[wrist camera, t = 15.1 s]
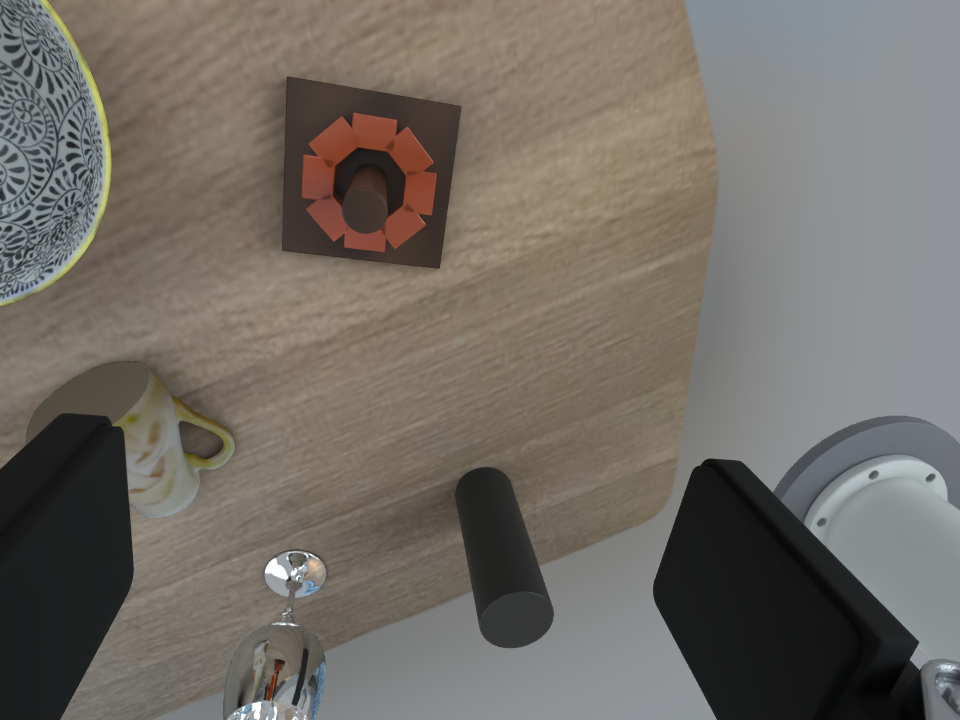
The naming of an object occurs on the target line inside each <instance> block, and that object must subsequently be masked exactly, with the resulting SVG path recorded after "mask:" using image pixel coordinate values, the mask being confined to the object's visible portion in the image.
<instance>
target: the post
mask: <svg viewBox="0 0 960 720" xmlns="http://www.w3.org/2000/svg"><path fill="white" fill-rule="evenodd" d="M354 112H359V113H365V114H371V115H377V116H383V117H389V118H395V119H397V130H396V132H398V131H399V130H400V129H401V128H403V127H404V126H405V125H407V126H408V128H409V129H410V130H411V132H412V133H413V134H414V136H415V137H416V139H417V140H418V141H419V143H420V144H421V145H422V147H423V148H424V149H425V151H426V152H427V154H428V155H429V156H430V158H431V159H432V160H433V162H434V163H433V164H432V165H430V166H429V167H428V168H427V169H432V170H434V171H435V173H436V174H437V177H436V185H435V193H434V202H433V210H432V215H423V214H421V215H422V216H423V218H424V220H425V223H426V226H424V227H423V228H422V229H421V230H419V231H418V232H417V233H415V234H414V235H413V236H412V237H410V238H409V239H408V240H406V241H405V242H404V243H403V244H401V245H400V246H399V247H398V248H396V249H394V248H393V247H392V245H391V244H390V243H389V242H388V241H387V239H386V245H385V252H377V251H369V250H360V249H352V248H345V247H344V235H345V234H344V235H342V236H341V237H340V238H339V239H337V240H336V241H335V242H334V241H332V240H331V238H330V237H329V236H328V235H327V234H326V233H325V231H324V230H323V229H322V228H321V227H320V226H319V225H318V223H317V222H316V221H315V220H314V219H313V218H312V216H311V215H310V214H309V213H308V212H307V211H306V208H307V206H308V205H309V204H310V202H312V201H313V200H311V199H303V198H302V197H301V194H302V169H303V155H304V154H305V153H307V152H308V151H310V152H314V150H313V149H312V148H311V147H310V145H309V142H311V141H312V140H313V139H314V138H315V137H317V136H318V135H319V134H320V133H321V132H323V131H324V130H325V129H326V128H327V127H329V126H330V125H331V124H332V123H334V122H335V121H336V120H337V119H338V118H340V117H341V116H343V115H345V117H346V118H347V119H348V120H349V122H350V123H351V124H352V120H353V113H354ZM460 112H461V106H457V105H451V104H446V103H440V102H434V101H428V100H422V99H416V98H411V97H405V96H399V95H393V94H387V93H381V92H375V91H370V90H364V89H358V88H352V87H346V86H340V85H334V84H329V83H323V82H317V81H311V80H305V79H299V78H293V77H287V98H286V132H285V166H284V199H283V233H282V250H283V251H290V252H299V253H307V254H316V255H325V256H333V257H342V258H351V259H360V260H368V261H377V262H386V263H394V264H403V265H412V266H420V267H429V268H438V269H439V268H440V263H441V256H442V248H443V240H444V233H445V225H446V218H447V210H448V203H449V195H450V188H451V180H452V173H453V165H454V158H455V150H456V143H457V135H458V127H459V120H460ZM403 182H404V173H403V172H402V171H401V169H400V168H399V167H398V165H397V164H396V163H395V161H394V160H393V159H392V157H391V156H390V155H389V154H388V152H384V151H378V150H371V149H364V148H357V149H355V150H354V151H353V152H352V153H350V154H349V155H348V156H347V157H346V158H344V159H343V160H342V161H341V162H339V163H338V164H337V180H336V191H337V193H338V194H339V195H340V196H341V197H342V199H343V200H344V201H343V204H342V215H343V218H344V221H345V222H346V224H347V225H348V226H349V227H350V228H351V229H352V230H354V231H356V232H358V233H363V234H369V233H373V232H376V231H378V230H379V229H380V228H381V227H382V226H383V225H384V223H385V222H386V219H387V215H388V210H389V209H390V208H392V207H393V206H394V205H396V204H397V203H398V202H399V201H401V200H402V192H403Z"/></svg>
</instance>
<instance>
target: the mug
mask: <svg viewBox="0 0 960 720" xmlns="http://www.w3.org/2000/svg"><path fill="white" fill-rule="evenodd" d="M62 413H73V414H87V415H102V416H107V417H108V418H109V419H110V421H111V423H112V426H120V427H121V428H122V429H123V431H124V437H125V451H126V465H127V480H128V494H129V504H130V505H132V506H133V507H134V508H135V509H136V510H137V511H138V512H139V513H140V514H141V515H142V516H144V517H148V518H160V517H166V516H170V515H173V514H176V513H179V512H180V511H182V510H183V509H185V508H186V507H187V506H188V505H189V504H190V503H191V502H192V501H193V500H194V498H195V496H196V494H197V490H198V487H199V484H200V476H199V470H202V469H216V468H218V467H220V466H222V465H224V464H225V463H226V462H227V461H228V460H229V459H230V458H231V456H232V455H233V453H234V451H235V442H234V439H233V436H232V435H231V434H230V432H229V431H228V430H227V429H226V428H225V427H223V426H222V425H220V424H219V423H217V422H215V421H213V420H211V419H208V418H206V417H204V416H202V415H200V414H198V413H197V412H195V411H193V410H192V409H190V408H189V407H188V406H186V405H185V404H184V403H183V402H182V401H181V400H180V399H178V398H176V397H173V396H171V395H170V393H169V391H168V389H167V388H166V386H165V385H164V383H163V382H162V381H161V380H160V379H159V378H158V377H157V376H156V375H155V374H154V373H153V372H152V371H151V370H150V369H149V368H148V367H147V366H146V365H145V364H144V363H142V362H139V361H133V362H130V361H128V362H116V363H109V364H105V365H102V366H99V367H96V368H93V369H91V370H89V371H87V372H85V373H83V374H81V375H79V376H78V377H75V378H73V379H72V380H71V381H69V382H68V383H66V384H65V385H63V386H62V387H61V388H59V389H58V390H57V391H55V392H54V393H53V394H52V395H51V396H50V397H49V398H47V399H46V400H45V401H44V402H43V403H42V404H41V405H40V406H39V407H38V408H37V409H36V410H35V412H34V414H33V416H32V418H31V421H30V423H29V426H28V429H27V433H26V445H27V444H28V443H29V442H30V441H31V440H32V439H33V438H35V437H36V436H37V435H38V434H39V433H40V432H41V431H42V430H43V429H44V428H45V427H46V426H47V425H48V424H50V423H51V422H52V421H53V420H54V419H55V418H56V417H57V416H58V415H60V414H62ZM180 421H185V422H189V423H191V424H193V425H196V426H199V427H202V428H204V429H207V430H209V431H210V432H213V433H215V434H216V435H218V436H219V437H220V438H221V439H222V442H223V447H222V450H221V451H220V452H219V453H217V454H216V455H214V456H213V457H211V458H209V459H201V458H199V457H197V456H196V455H194V454H191V453H186V452H184V451H183V448H182V443H181V437H180V430H179V422H180Z"/></svg>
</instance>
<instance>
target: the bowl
mask: <svg viewBox="0 0 960 720" xmlns="http://www.w3.org/2000/svg"><path fill="white" fill-rule="evenodd" d="M110 182H111V144H110V135H109V129H108V124H107V119H106V115H105V111H104V107H103V104H102V100H101V98H100V95H99V92H98V89H97V86H96V84H95V81H94V79H93V76H92V74H91V71H90V69H89V67H88V65H87V62H86V60H85V59H84V57H83V55H82V53H81V51H80V49H79V47H78V45H77V43H76V41H75V40H74V38H73V37H72V35H71V34H70V32H69V31H68V29H67V27H66V25H65V24H64V22H63V21H62V20H61V18H60V17H59V16H58V14H57V13H56V11H55V10H54V8H53V7H52V6H51V4H50V3H49V2H48V1H47V0H0V307H1V306H5V305H9V304H12V303H15V302H18V301H20V300H23V299H25V298H27V297H30V296H32V295H34V294H36V293H38V292H40V291H42V290H43V289H45V288H47V287H48V286H50V285H51V284H53V283H54V282H56V281H57V280H58V279H60V278H61V277H62V276H63V275H64V274H65V273H66V272H67V271H68V270H70V269H71V268H72V267H73V266H74V264H75V263H76V262H77V261H78V260H79V259H80V258H81V256H82V255H83V254H84V252H85V251H86V249H87V248H88V246H89V245H90V243H91V241H92V240H93V238H94V236H95V234H96V232H97V230H98V228H99V225H100V223H101V220H102V218H103V215H104V212H105V208H106V204H107V200H108V195H109V189H110Z"/></svg>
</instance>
